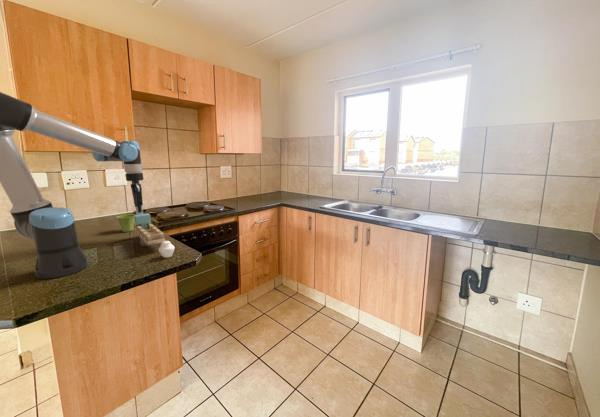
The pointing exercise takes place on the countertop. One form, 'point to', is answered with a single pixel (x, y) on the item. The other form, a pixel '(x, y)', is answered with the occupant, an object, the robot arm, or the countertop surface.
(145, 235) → the beam
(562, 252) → the countertop surface
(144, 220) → the rider
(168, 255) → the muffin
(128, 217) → the plant pot
